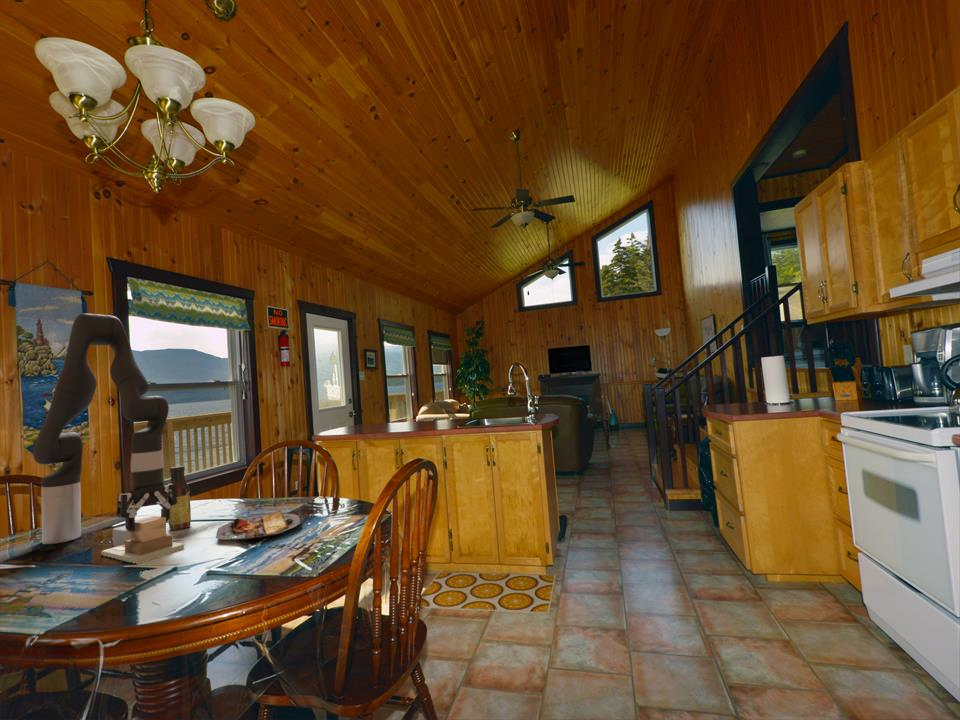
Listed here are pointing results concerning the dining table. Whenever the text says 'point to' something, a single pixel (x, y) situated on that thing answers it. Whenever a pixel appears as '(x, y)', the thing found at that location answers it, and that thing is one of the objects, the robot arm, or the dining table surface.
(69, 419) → the robot arm
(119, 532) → the grey brick
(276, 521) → the food plate
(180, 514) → the sauce bottle
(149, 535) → the oak brick
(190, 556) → the dining table surface
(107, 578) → the dining table surface
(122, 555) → the build board
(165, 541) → the base brick
